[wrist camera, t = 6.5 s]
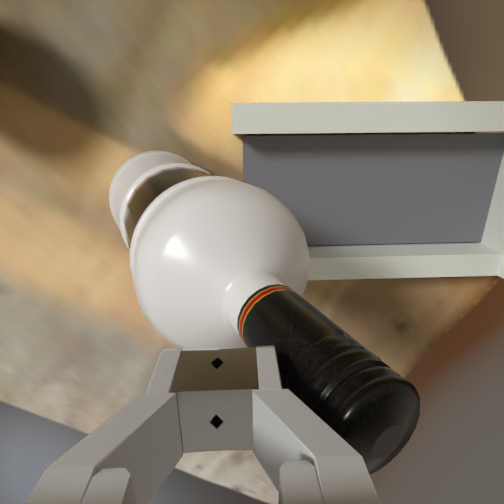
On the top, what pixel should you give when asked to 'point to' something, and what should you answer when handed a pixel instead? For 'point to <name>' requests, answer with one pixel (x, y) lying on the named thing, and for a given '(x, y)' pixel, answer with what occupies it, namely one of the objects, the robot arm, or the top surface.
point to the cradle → (384, 184)
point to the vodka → (251, 294)
